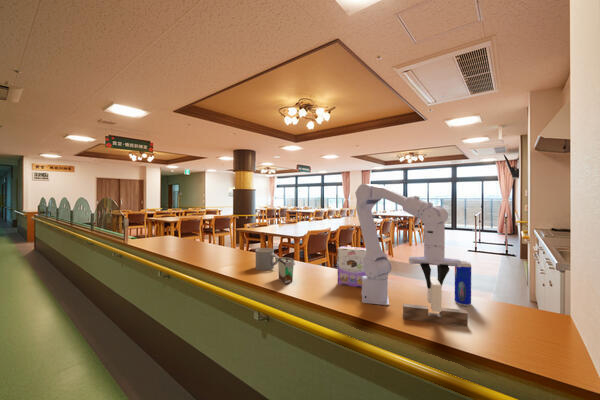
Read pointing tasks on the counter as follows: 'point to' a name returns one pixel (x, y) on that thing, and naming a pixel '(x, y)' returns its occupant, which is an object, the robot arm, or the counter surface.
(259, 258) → the coffee mug
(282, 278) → the food container
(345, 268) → the candy box
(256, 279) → the counter surface
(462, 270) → the beverage can
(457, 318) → the walnut slotted plate
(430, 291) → the cream rectangular block
